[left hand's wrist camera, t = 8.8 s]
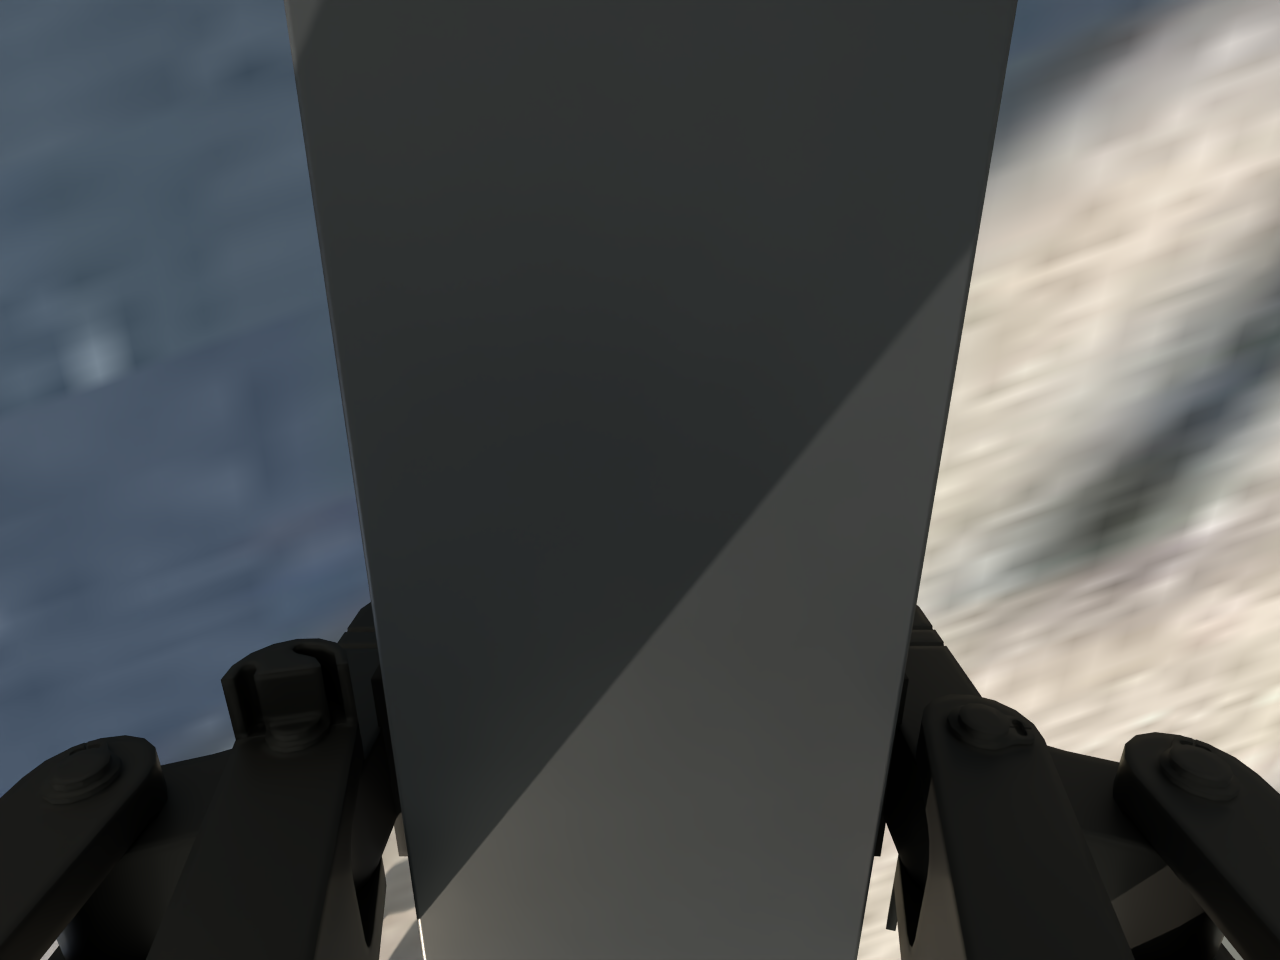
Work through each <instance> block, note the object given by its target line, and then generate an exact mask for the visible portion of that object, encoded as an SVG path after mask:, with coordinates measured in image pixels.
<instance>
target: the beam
mask: <svg viewBox="0 0 1280 960" xmlns="http://www.w3.org/2000/svg"><path fill="white" fill-rule="evenodd" d="M1017 1H1018V0H284V5H285V12H286V19H287V25H288V32H289V39H290V46H291V53H292V60H293V67H294V74H295V81H296V88H297V94H298V101H299V108H300V115H301V122H302V129H303V136H304V143H305V150H306V156H307V163H308V170H309V177H310V184H311V191H312V198H313V205H314V212H315V218H316V225H317V232H318V239H319V246H320V253H321V260H322V267H323V274H324V281H325V287H326V294H327V301H328V308H329V315H330V322H331V329H332V336H333V343H334V349H335V356H336V363H337V370H338V377H339V384H340V391H341V398H342V405H343V411H344V418H345V425H346V432H347V439H348V446H349V453H350V460H351V467H352V474H353V480H354V487H355V494H356V501H357V508H358V515H359V522H360V529H361V536H362V542H363V549H364V556H365V563H366V570H367V577H368V584H369V591H370V598H371V604H372V611H373V618H374V625H375V632H376V639H377V646H378V653H379V660H380V667H381V673H382V680H383V687H384V694H385V701H386V708H387V715H388V722H389V729H390V735H391V742H392V749H393V756H394V763H395V770H396V777H397V784H398V791H399V797H400V804H401V811H402V818H403V825H404V832H405V839H406V846H407V853H408V860H409V866H410V873H411V880H412V887H413V894H414V901H415V908H416V915H417V922H418V928H419V935H420V942H421V949H422V956H423V960H857V955H858V949H859V943H860V937H861V931H862V925H863V919H864V913H865V907H866V901H867V896H868V890H869V884H870V878H871V872H872V866H873V860H874V854H875V848H876V842H877V836H878V830H879V824H880V818H881V812H882V806H883V800H884V794H885V788H886V782H887V776H888V770H889V764H890V758H891V752H892V747H893V741H894V735H895V729H896V723H897V717H898V711H899V705H900V699H901V693H902V687H903V681H904V675H905V669H906V663H907V657H908V651H909V645H910V639H911V633H912V627H913V621H914V615H915V609H916V603H917V597H918V592H919V586H920V580H921V574H922V568H923V562H924V556H925V550H926V544H927V538H928V532H929V526H930V520H931V514H932V508H933V502H934V496H935V490H936V484H937V478H938V472H939V466H940V460H941V454H942V448H943V443H944V437H945V431H946V425H947V419H948V413H949V407H950V401H951V395H952V389H953V383H954V377H955V371H956V365H957V359H958V353H959V347H960V341H961V335H962V329H963V323H964V317H965V311H966V305H967V299H968V293H969V288H970V282H971V276H972V270H973V264H974V258H975V252H976V246H977V240H978V234H979V228H980V222H981V216H982V210H983V204H984V198H985V192H986V186H987V180H988V174H989V168H990V162H991V156H992V150H993V144H994V139H995V133H996V127H997V121H998V115H999V109H1000V103H1001V97H1002V91H1003V85H1004V79H1005V73H1006V67H1007V61H1008V55H1009V49H1010V43H1011V37H1012V31H1013V25H1014V19H1015V13H1016V7H1017Z"/></svg>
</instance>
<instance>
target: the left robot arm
mask: <svg viewBox="0 0 1280 960" xmlns="http://www.w3.org/2000/svg"><path fill="white" fill-rule="evenodd" d="M943 643H944V642H943V640H942V639H941V638H940V636H939V635H938V633H937V632H936V630H933V629H932V625H931V623H930V622H929V620H928V619H927V617H926V616H925V615H924V613H923V612H922V610H921V609H920V607H919V606H917V605H916V609H915V615H914V621H913V627H912V633H911V639H910V645H909V651H908V657H907V663H906V669H905V675H904V681H903V687H902V693H901V699H900V705H899V711H898V717H897V723H896V729H895V735H894V741H893V747H892V752H891V758H890V764H889V770H888V776H887V782H886V788H885V794H884V800H883V806H882V812H881V818H880V824H879V830H878V836H877V842H876V848H875V854H874V856H880V855H881V849H882V843H883V837H884V831H885V824H887V826H888V829H889V831H890V834H891V836H892V839H893V841H894V844H895V846H896V849H897V851H898V860H897V866H896V872H895V878H894V883H893V889H892V895H891V901H890V907H889V912H888V919H887V926H886V929H888V930H893V931H895V930H896V925H897V922H898V932H899V942H900V952H901V960H1235V959H1234V958H1233V957H1232V955H1231V954H1230V953H1229V952H1228V950H1227V949H1226V948H1225V947H1224V945H1223V944H1222V943H1221V942H1222V940H1223V937H1224V936H1225V937H1226V938H1227V939H1228V941H1229V942H1230V943H1231V944H1232V946H1233V947H1234V948H1235V949H1236V951H1237V952H1238V953H1239V954H1240V956H1241V957H1242V958H1243V959H1244V960H1280V794H1279V793H1278V792H1277V791H1276V790H1275V789H1274V788H1272V787H1271V786H1270V785H1269V784H1268V783H1267V782H1266V781H1265V780H1264V779H1263V778H1262V777H1260V776H1259V775H1258V774H1257V773H1256V772H1254V771H1253V770H1252V769H1250V768H1249V767H1247V766H1246V765H1245V764H1243V763H1242V762H1241V761H1239V760H1238V759H1237V758H1235V757H1233V756H1231V755H1229V754H1227V753H1225V752H1223V751H1221V750H1219V749H1217V748H1215V747H1213V746H1211V745H1209V744H1207V743H1204V742H1201V741H1199V740H1194V739H1192V738H1188V737H1184V736H1181V735H1174V734H1166V733H1158V732H1153V733H1147V734H1141V735H1136V736H1134V737H1133V738H1132V739H1131V740H1130V741H1128V742H1127V743H1126V744H1125V747H1124V750H1123V753H1122V756H1121V760H1120V763H1119V762H1115V761H1110V760H1105V759H1101V758H1096V757H1091V756H1087V755H1082V754H1077V753H1073V752H1068V751H1064V750H1061V749H1057V748H1054V747H1050V746H1047V745H1046V742H1045V740H1044V738H1043V737H1042V735H1041V734H1040V732H1039V731H1038V730H1037V728H1036V727H1035V725H1034V724H1033V723H1032V722H1030V721H1029V720H1028V719H1026V718H1025V717H1024V716H1023V715H1021V714H1020V713H1019V712H1017V711H1016V710H1014V709H1012V708H1010V707H1007V706H1005V705H1003V704H1001V703H999V702H997V701H995V700H991V699H987V698H983V697H981V695H980V694H979V692H978V691H977V689H976V688H975V686H974V685H973V684H972V682H971V681H970V679H969V678H968V676H967V675H966V674H965V672H964V671H963V669H962V668H961V666H960V665H959V663H958V662H957V661H956V659H955V658H954V656H953V655H952V653H951V652H950V651H949V649H948V648H947V646H944V644H943ZM221 683H222V687H223V691H224V695H225V699H226V703H227V707H228V711H229V715H230V719H231V723H232V727H233V731H234V734H235V738H236V741H235V743H234V746H233V748H232V749H230V750H226V751H223V752H219V753H216V754H212V755H207V756H203V757H198V758H193V759H189V760H184V761H180V762H175V763H170V764H166V765H160V762H159V758H158V755H157V752H156V748H155V747H154V746H153V745H152V744H151V743H149V742H148V741H147V740H146V739H145V738H139V737H133V736H126V735H124V736H116V737H107V738H100V739H97V740H93V741H89V742H87V743H82V744H80V745H77V746H74V747H72V748H70V749H68V750H66V751H64V752H62V753H60V754H58V755H56V756H54V757H52V758H50V759H48V760H46V761H44V762H43V763H42V764H40V765H39V766H38V767H36V768H35V769H34V770H32V771H31V772H30V773H28V774H27V775H26V776H24V777H23V778H22V779H21V780H19V781H18V782H17V783H16V784H15V785H14V786H13V787H12V788H11V789H10V790H9V791H8V792H6V793H5V794H4V795H3V796H2V797H1V798H0V960H40V959H41V958H42V957H43V955H44V954H45V953H46V952H47V950H48V949H49V948H50V947H51V945H52V944H53V943H54V942H55V940H56V939H57V941H58V944H59V946H58V948H57V949H56V950H55V951H54V953H53V954H52V955H51V956H50V958H49V959H48V960H379V954H380V944H381V934H382V924H383V914H384V904H385V894H386V879H385V872H384V866H383V860H382V854H383V851H384V849H385V846H386V844H387V841H388V839H389V836H390V834H391V831H392V829H393V826H394V827H395V833H396V839H397V846H398V852H399V856H408V853H407V846H406V839H405V832H404V825H403V818H402V811H401V804H400V797H399V791H398V784H397V777H396V770H395V763H394V756H393V749H392V742H391V735H390V729H389V722H388V715H387V708H386V701H385V694H384V687H383V680H382V673H381V667H380V660H379V653H378V646H377V639H376V632H375V625H374V618H373V611H372V604H371V602H370V603H369V604H367V605H366V606H364V607H363V608H362V609H361V610H360V611H359V612H358V614H357V615H356V617H355V618H354V620H353V621H352V623H351V624H350V626H349V627H348V631H347V632H345V633H344V634H343V636H342V637H341V639H340V640H339V641H338V643H335V642H331V641H327V640H323V639H319V638H318V639H295V640H290V641H286V642H281V643H276V644H273V645H270V646H268V647H265V648H263V649H260V650H258V651H255V652H253V653H251V654H249V655H248V656H246V657H245V658H243V659H242V660H240V661H239V662H237V663H236V664H234V665H233V666H232V667H231V668H230V669H229V670H228V672H227V673H226V674H225V675H224V676H223V678H222V679H221Z"/></svg>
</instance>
